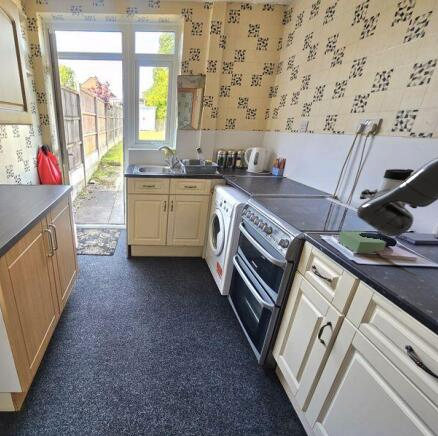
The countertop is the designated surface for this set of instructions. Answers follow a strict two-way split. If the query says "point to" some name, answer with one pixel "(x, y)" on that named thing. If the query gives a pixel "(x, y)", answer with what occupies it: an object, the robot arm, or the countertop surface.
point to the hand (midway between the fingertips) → (389, 194)
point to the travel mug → (394, 178)
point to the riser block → (361, 242)
